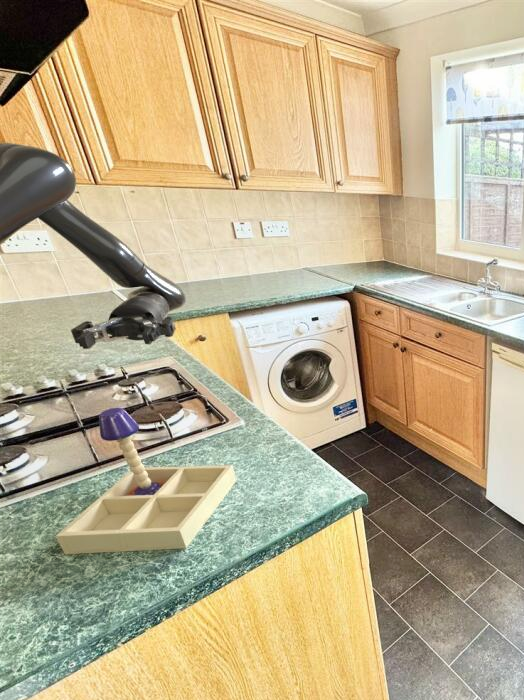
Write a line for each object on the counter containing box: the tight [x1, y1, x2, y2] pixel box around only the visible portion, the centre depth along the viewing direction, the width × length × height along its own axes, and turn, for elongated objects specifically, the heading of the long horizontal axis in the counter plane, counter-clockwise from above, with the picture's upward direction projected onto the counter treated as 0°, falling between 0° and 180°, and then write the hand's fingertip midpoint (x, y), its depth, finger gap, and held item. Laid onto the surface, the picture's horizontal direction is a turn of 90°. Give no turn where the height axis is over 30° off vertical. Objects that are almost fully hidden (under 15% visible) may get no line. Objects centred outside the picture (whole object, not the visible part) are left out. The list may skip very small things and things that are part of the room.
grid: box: [55, 464, 238, 555], centre depth 69 cm, size 16×16×4 cm
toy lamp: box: [98, 407, 162, 496], centre depth 69 cm, size 5×5×17 cm
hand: (115, 341), depth 75 cm, fingers open, 8 cm apart
